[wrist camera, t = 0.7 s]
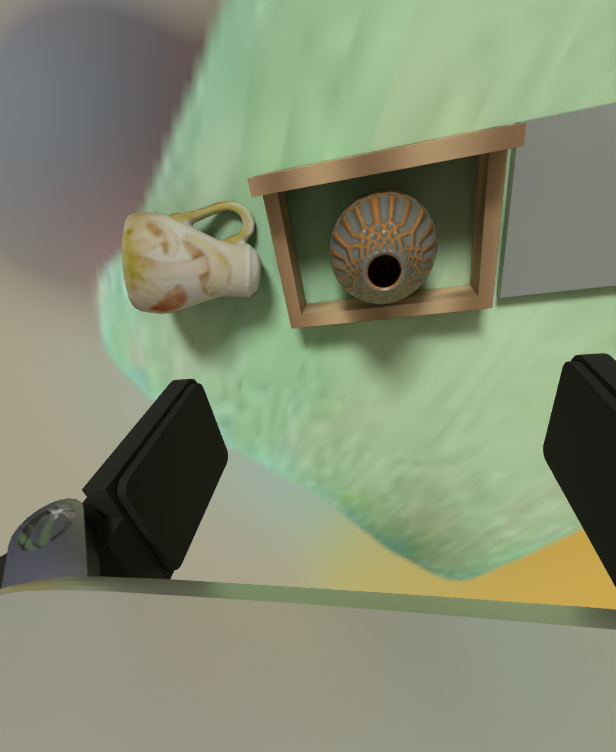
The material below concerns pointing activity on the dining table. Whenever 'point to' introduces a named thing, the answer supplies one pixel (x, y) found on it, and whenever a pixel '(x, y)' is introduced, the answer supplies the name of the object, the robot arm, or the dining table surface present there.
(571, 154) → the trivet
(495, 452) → the dining table surface
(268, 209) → the wooden frame
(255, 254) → the mug
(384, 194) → the vase
